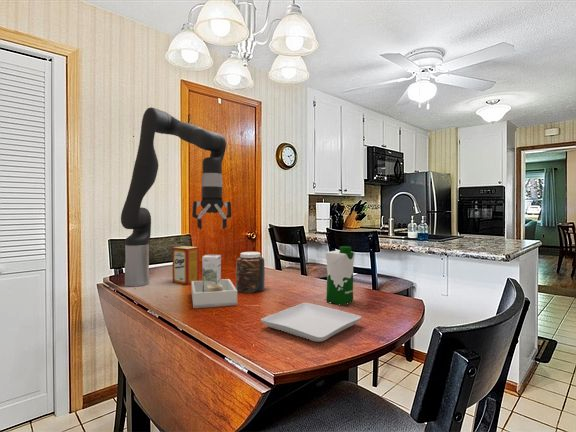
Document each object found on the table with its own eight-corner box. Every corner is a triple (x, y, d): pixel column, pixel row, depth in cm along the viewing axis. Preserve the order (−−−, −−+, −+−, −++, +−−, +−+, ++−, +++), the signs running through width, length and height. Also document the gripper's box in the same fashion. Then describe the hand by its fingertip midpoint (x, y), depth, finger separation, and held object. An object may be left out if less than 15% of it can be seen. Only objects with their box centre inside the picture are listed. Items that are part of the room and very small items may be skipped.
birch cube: (207, 302, 119) (207, 288, 119) (206, 298, 124) (206, 284, 123) (222, 301, 120) (222, 287, 120) (220, 297, 125) (220, 284, 125)
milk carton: (344, 307, 118) (345, 248, 117) (322, 302, 123) (322, 246, 123) (356, 301, 124) (357, 246, 124) (335, 297, 130) (335, 244, 130)
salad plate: (321, 350, 83) (321, 336, 83) (258, 329, 97) (258, 317, 97) (363, 327, 99) (363, 315, 99) (304, 312, 113) (304, 301, 113)
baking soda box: (172, 282, 154) (172, 246, 153) (184, 279, 159) (184, 245, 159) (187, 285, 149) (187, 248, 148) (198, 282, 154) (198, 246, 154)
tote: (193, 308, 115) (193, 293, 115) (191, 294, 134) (191, 281, 134) (237, 304, 120) (237, 290, 119) (229, 291, 138) (229, 278, 138)
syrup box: (221, 291, 134) (221, 254, 133) (217, 295, 128) (217, 256, 127) (206, 291, 134) (206, 254, 134) (201, 295, 128) (201, 256, 128)
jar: (267, 292, 137) (267, 254, 137) (237, 294, 134) (237, 255, 134) (262, 285, 149) (262, 250, 148) (234, 287, 146) (234, 251, 145)
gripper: (229, 186, 135) (229, 228, 136) (192, 185, 131) (191, 228, 131) (232, 186, 128) (232, 229, 129) (192, 184, 124) (192, 230, 124)
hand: (211, 229), depth 130 cm, fingers open, 8 cm apart
